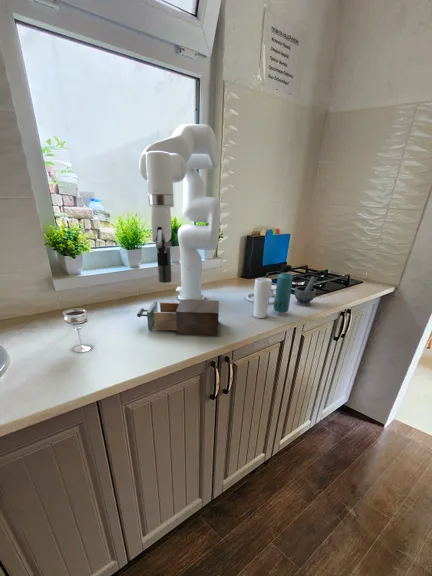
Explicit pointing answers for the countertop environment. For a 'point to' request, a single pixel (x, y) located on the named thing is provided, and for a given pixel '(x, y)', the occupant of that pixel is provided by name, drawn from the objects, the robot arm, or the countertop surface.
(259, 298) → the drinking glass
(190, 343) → the countertop surface
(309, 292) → the mortar and pestle
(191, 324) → the cabinet
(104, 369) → the countertop surface
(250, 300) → the hand towel holder
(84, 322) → the wineglass
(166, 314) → the drawer
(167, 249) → the pepper mill
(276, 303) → the beverage bottle
